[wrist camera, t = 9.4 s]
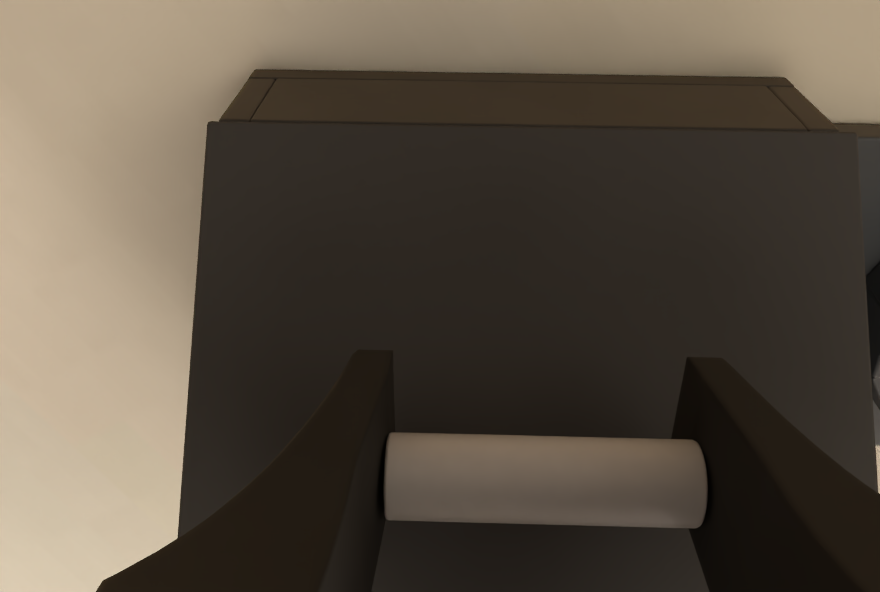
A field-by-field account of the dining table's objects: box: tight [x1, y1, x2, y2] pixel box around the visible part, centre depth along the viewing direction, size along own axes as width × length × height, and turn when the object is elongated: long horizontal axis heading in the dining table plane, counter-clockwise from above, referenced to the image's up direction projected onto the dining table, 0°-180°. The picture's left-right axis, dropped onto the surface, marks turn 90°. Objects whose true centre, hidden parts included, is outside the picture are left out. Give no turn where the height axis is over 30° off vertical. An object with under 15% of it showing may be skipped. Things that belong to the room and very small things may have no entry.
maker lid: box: [178, 121, 878, 592], centre depth 15 cm, size 13×13×4 cm
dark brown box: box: [219, 70, 839, 132], centre depth 23 cm, size 12×13×4 cm
